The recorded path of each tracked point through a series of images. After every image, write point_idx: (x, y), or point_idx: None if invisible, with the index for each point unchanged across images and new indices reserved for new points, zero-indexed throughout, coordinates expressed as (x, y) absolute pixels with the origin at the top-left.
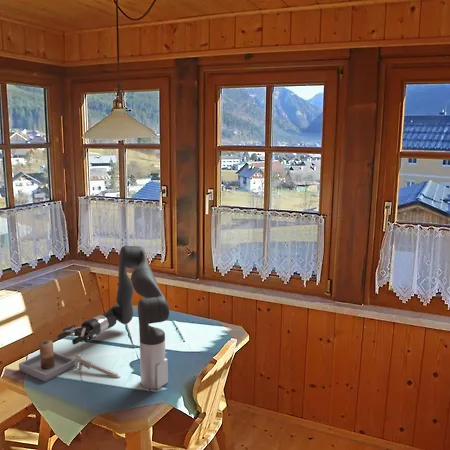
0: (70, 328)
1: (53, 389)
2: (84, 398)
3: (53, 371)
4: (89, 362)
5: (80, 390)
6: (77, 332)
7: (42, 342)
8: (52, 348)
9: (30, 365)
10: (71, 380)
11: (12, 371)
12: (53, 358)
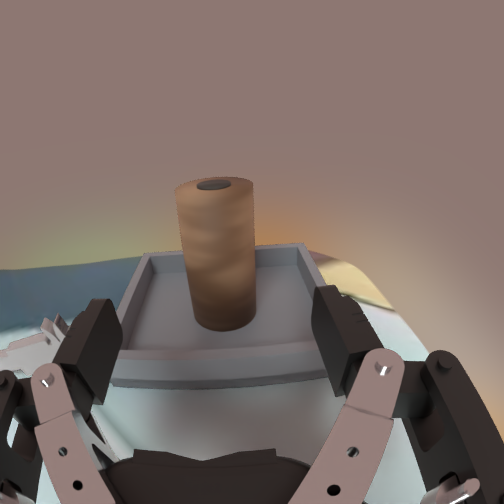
0: (454, 452)
1: (104, 272)
2: (16, 283)
3: (135, 272)
4: (11, 343)
5: (32, 296)
6: (204, 462)
7: (234, 181)
8: (180, 226)
9: (295, 282)
10: (75, 314)
11: (315, 260)
12: (190, 285)
